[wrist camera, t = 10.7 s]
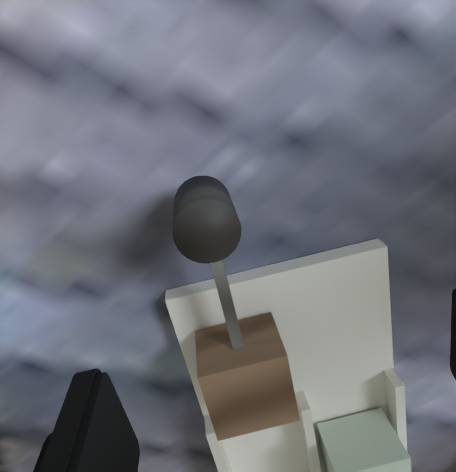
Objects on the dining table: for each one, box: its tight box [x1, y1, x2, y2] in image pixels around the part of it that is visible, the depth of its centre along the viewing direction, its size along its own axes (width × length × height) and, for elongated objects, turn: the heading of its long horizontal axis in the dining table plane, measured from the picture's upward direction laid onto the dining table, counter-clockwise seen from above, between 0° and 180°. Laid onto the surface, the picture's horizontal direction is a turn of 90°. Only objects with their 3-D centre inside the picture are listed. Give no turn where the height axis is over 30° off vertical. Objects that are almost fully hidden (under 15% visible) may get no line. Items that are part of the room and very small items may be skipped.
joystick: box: [173, 176, 300, 441], centre depth 26 cm, size 18×6×6 cm, turn 12°
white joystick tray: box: [165, 238, 411, 472], centre depth 32 cm, size 24×17×7 cm
